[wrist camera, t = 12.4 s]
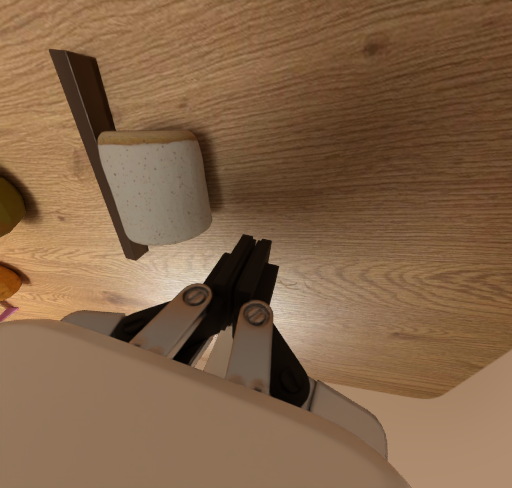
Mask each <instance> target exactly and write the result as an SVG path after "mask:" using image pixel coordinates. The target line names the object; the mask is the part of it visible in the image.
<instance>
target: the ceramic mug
mask: <svg viewBox="0 0 512 488" xmlns="http://www.w3.org/2000/svg"><path fill="white" fill-rule="evenodd" d="M98 149H99V155H100V159H101V163H102V167H103V170H104V172H105V175H106V178H107V181H108V183H109V186H110V188H111V191H112V194H113V197H114V200H115V203H116V206H117V209H118V212H119V215H120V218H121V221H122V224H123V227H124V230H125V233H126V235H127V237H128V238H129V239H130V240H131V241H133V242H135V243H138V244H143V245H171V244H176V243H180V242H183V241H186V240H189V239H192V238H194V237H196V236H198V235H200V234H201V233H203V232H204V231H206V230H207V229H208V228H209V227H210V225H211V222H212V215H211V209H210V204H209V197H208V191H207V185H206V179H205V173H204V165H203V159H202V154H201V150H200V147H199V144H198V141H197V139H196V137H195V135H194V134H192V133H191V132H190V131H188V130H138V131H105V132H102V133H101V134H100V135H99V137H98Z"/></svg>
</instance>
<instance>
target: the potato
mask: <svg viewBox="0 0 512 488" xmlns="http://www.w3.org/2000/svg"><path fill="white" fill-rule="evenodd" d="M21 285H22V283H21V280H20V278H19V277H18V276H17V274H16V273H14V272H13V271H11V270H9V269H7V268H5V267H3V266H0V301H3V300H5V299H7V298H10V297H11V296H12V295H13V294H15V293H16V292H17V291H18V290H19V288H20V287H21Z"/></svg>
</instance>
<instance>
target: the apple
mask: <svg viewBox="0 0 512 488" xmlns="http://www.w3.org/2000/svg"><path fill="white" fill-rule="evenodd" d="M25 215H26V212H25V206H24V200H23V198H22V196H21V194H20V193H19V191H18V190H17V189H16V188H15V187H14V186H13V185H12V184H11V183H10V182H8V181H7V180H5V179H3V178H1V177H0V237H2V236H4V235H6V234H8V233H10V232H11V231H12V230H13V228H14V227H15V226H16V225H17V224H18V223H19V222H20V221H21V220H22V219H23V217H24V216H25Z"/></svg>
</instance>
